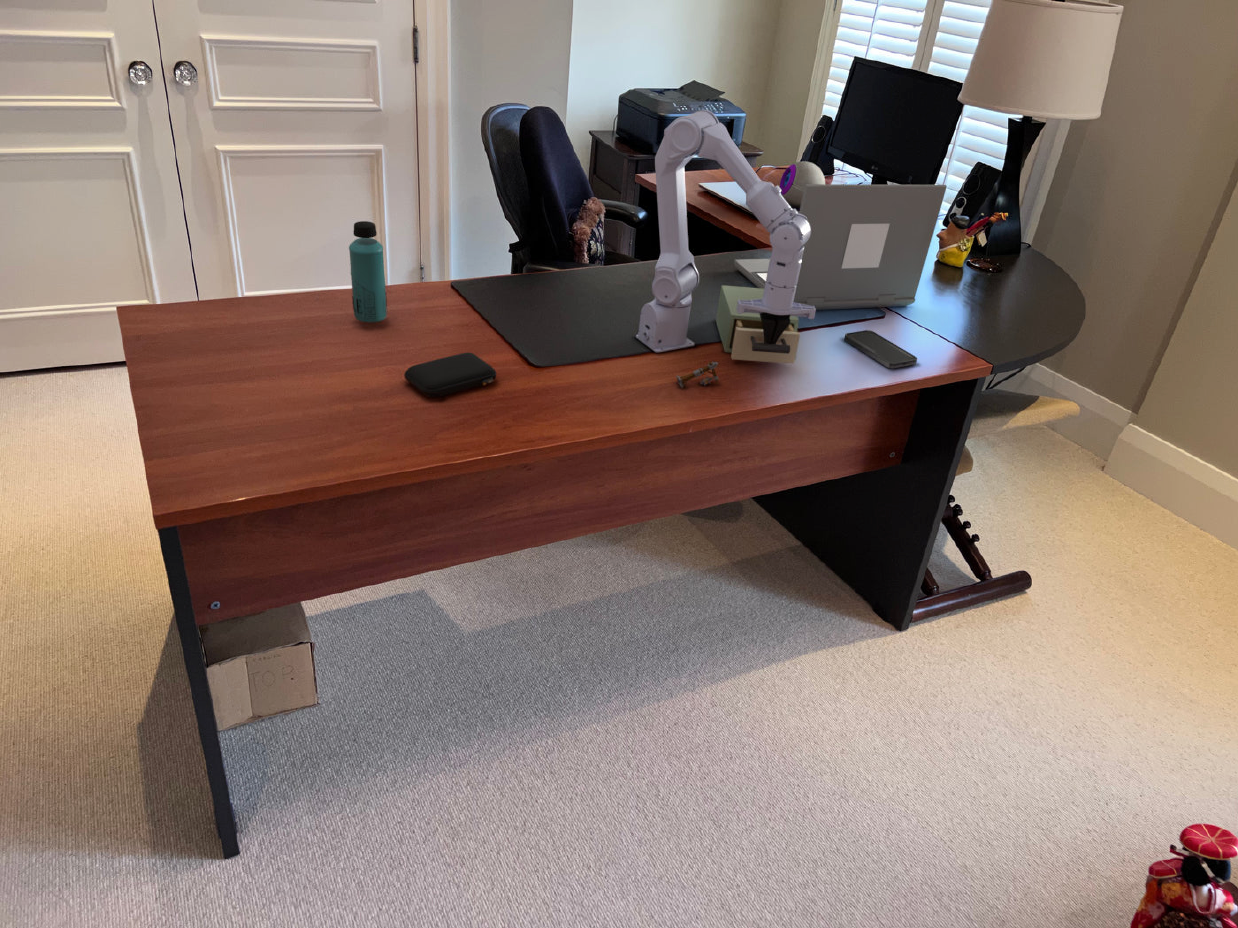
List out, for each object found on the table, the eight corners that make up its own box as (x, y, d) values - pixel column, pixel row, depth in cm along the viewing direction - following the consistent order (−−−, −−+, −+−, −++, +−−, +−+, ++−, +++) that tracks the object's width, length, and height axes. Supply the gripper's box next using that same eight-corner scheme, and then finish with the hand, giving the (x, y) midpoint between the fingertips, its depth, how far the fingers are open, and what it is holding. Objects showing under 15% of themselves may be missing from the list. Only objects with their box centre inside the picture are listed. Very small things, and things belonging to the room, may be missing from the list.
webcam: (770, 205, 273) (780, 154, 265) (811, 208, 275) (822, 158, 266) (781, 219, 262) (791, 167, 254) (823, 222, 264) (835, 170, 256)
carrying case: (431, 406, 152) (504, 386, 161) (430, 390, 151) (504, 370, 159) (400, 380, 159) (472, 362, 168) (399, 365, 157) (472, 347, 166)
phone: (870, 329, 195) (919, 359, 185) (868, 334, 196) (918, 363, 185) (842, 334, 192) (891, 364, 181) (841, 339, 192) (889, 369, 182)
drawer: (798, 375, 174) (805, 345, 170) (735, 371, 173) (740, 341, 169) (780, 333, 190) (786, 305, 187) (722, 328, 189) (727, 300, 186)
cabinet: (791, 357, 183) (799, 320, 178) (724, 352, 182) (731, 315, 177) (777, 325, 196) (784, 290, 191) (715, 320, 195) (721, 285, 190)
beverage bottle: (394, 321, 179) (390, 222, 169) (373, 333, 174) (367, 231, 163) (367, 313, 181) (362, 215, 171) (346, 324, 176) (338, 223, 165)
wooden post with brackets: (724, 381, 169) (718, 361, 166) (685, 398, 168) (679, 379, 166) (720, 376, 170) (715, 357, 167) (682, 393, 170) (675, 374, 167)
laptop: (855, 266, 233) (883, 153, 218) (913, 307, 212) (948, 186, 197) (732, 269, 222) (753, 151, 207) (781, 313, 202) (807, 186, 186)
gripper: (815, 277, 171) (800, 343, 178) (739, 271, 169) (728, 337, 177) (823, 291, 165) (808, 359, 172) (745, 285, 163) (733, 353, 171)
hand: (768, 349), depth 174 cm, fingers closed, pressing on drawer
